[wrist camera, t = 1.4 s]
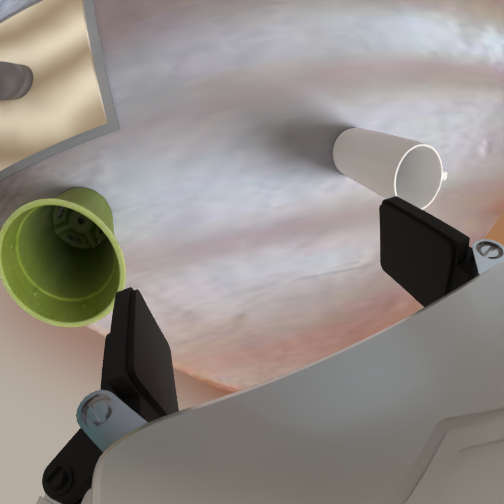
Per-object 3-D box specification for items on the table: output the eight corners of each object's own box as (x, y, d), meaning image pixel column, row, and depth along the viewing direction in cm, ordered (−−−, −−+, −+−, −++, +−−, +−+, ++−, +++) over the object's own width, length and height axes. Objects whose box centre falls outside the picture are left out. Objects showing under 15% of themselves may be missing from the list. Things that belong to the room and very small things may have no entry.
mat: (-45, 53, 16) (-47, 52, 16) (90, -21, 19) (89, -22, 18) (-15, 188, 25) (-17, 189, 25) (120, 128, 28) (119, 128, 27)
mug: (327, 178, 37) (388, 214, 27) (331, 123, 34) (398, 141, 23) (390, 177, 39) (454, 209, 29) (395, 129, 36) (464, 149, 26)
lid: (-40, 55, 16) (-70, 53, 11) (81, -12, 19) (66, -32, 13) (-14, 178, 24) (-41, 195, 19) (107, 123, 27) (95, 128, 22)
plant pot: (49, 270, 32) (22, 331, 23) (28, 175, 27) (-20, 210, 17) (140, 261, 35) (137, 323, 26) (129, 159, 30) (113, 188, 20)
